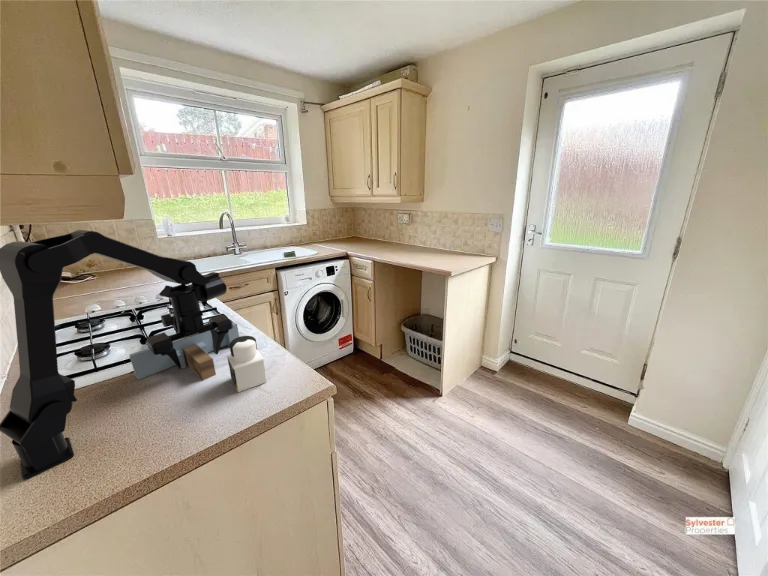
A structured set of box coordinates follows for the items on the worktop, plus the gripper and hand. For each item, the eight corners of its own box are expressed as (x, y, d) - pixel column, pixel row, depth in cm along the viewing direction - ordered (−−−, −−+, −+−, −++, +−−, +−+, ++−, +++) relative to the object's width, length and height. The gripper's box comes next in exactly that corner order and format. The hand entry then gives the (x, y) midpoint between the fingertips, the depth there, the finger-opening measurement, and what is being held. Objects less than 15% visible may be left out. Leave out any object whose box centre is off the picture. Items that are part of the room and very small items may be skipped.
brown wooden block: (216, 374, 82) (212, 358, 81) (203, 380, 80) (199, 363, 78) (197, 358, 90) (194, 343, 88) (185, 363, 87) (181, 347, 85)
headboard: (241, 344, 97) (238, 324, 95) (141, 384, 78) (133, 360, 76) (234, 340, 99) (231, 320, 97) (136, 377, 81) (129, 354, 78)
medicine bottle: (231, 378, 81) (223, 338, 77) (259, 369, 85) (253, 330, 81) (237, 393, 75) (229, 350, 71) (267, 382, 79) (261, 341, 75)
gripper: (211, 291, 90) (220, 338, 95) (132, 310, 77) (148, 364, 82) (229, 300, 83) (237, 350, 89) (146, 324, 70) (162, 381, 75)
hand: (198, 360), depth 84 cm, fingers open, 9 cm apart
